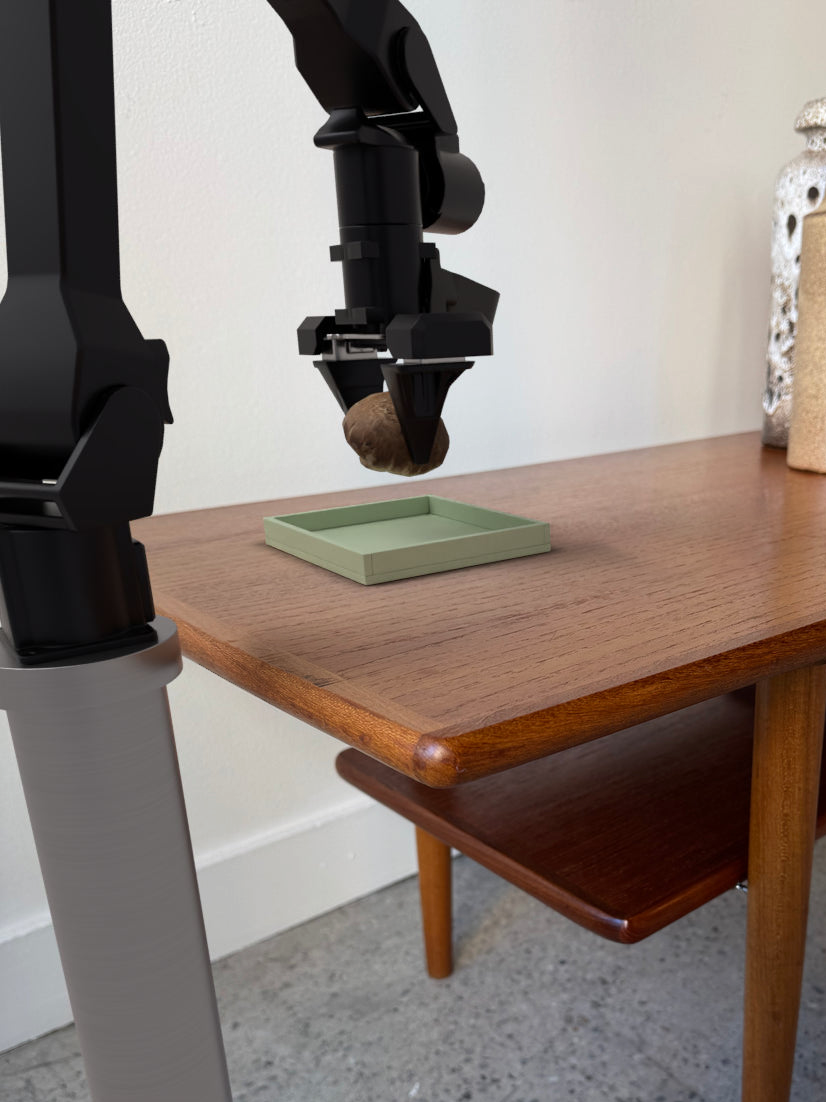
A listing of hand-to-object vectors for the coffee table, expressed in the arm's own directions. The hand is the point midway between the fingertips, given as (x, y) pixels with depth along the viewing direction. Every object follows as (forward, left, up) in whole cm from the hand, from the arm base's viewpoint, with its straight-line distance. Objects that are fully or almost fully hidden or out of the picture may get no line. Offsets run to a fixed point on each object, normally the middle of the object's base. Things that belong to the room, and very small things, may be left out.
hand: (396, 459), depth 77 cm
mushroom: (0, 0, -1) cm, 1 cm away
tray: (0, 0, -7) cm, 7 cm away
